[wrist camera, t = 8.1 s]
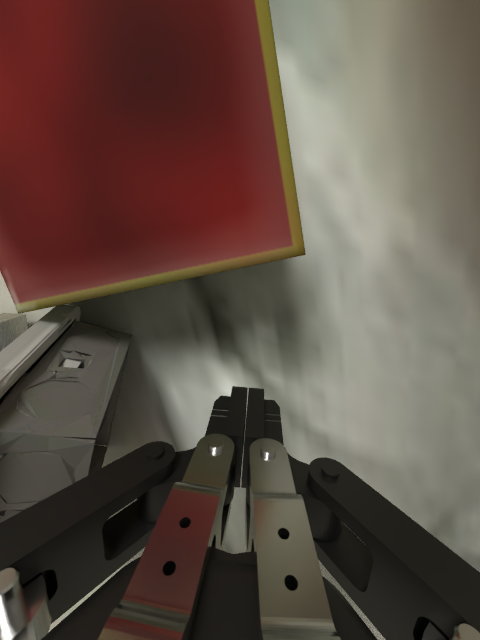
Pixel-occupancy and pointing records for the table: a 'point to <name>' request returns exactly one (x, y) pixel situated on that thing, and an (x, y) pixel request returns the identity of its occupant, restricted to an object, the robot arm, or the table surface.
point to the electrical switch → (56, 405)
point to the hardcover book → (139, 146)
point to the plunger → (11, 328)
